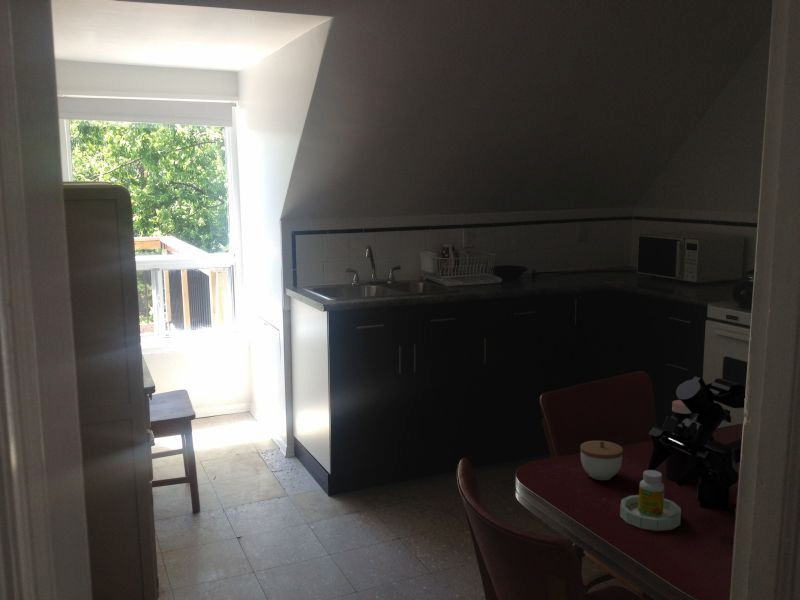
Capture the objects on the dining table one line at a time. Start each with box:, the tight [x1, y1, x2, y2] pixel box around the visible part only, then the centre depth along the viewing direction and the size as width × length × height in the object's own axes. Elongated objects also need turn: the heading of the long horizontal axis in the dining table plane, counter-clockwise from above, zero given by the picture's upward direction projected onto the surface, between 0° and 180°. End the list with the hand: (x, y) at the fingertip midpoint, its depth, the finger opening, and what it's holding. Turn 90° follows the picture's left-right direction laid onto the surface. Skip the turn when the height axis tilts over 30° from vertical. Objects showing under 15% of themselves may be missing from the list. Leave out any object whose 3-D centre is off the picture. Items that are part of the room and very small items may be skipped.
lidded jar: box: [579, 440, 624, 481], centre depth 193 cm, size 11×11×9 cm
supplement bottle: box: [638, 469, 665, 518], centre depth 169 cm, size 5×5×10 cm
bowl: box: [619, 494, 682, 532], centre depth 169 cm, size 13×13×2 cm
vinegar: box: [664, 399, 693, 482], centre depth 191 cm, size 7×7×20 cm
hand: (663, 477), depth 169 cm, fingers open, 9 cm apart
